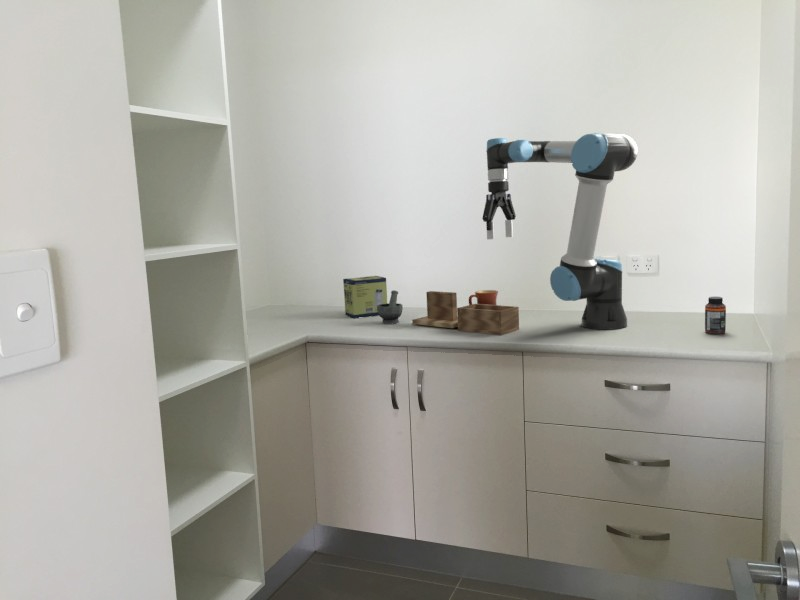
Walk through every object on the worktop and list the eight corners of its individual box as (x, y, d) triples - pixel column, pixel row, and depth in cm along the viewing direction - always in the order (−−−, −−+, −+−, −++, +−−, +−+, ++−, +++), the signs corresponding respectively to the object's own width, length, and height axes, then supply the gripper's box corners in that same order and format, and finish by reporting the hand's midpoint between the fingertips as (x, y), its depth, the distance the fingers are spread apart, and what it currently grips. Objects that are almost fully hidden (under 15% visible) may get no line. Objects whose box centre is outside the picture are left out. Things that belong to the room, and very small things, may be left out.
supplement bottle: (707, 330, 217) (708, 295, 215) (727, 331, 213) (728, 296, 212) (702, 333, 212) (702, 298, 211) (722, 335, 209) (723, 299, 207)
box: (519, 329, 233) (518, 306, 232) (501, 335, 225) (501, 311, 224) (476, 325, 245) (475, 303, 244) (458, 330, 237) (457, 308, 236)
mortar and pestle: (396, 325, 253) (394, 293, 251) (373, 324, 257) (372, 293, 255) (408, 320, 263) (406, 289, 261) (386, 319, 267) (385, 289, 265)
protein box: (344, 315, 282) (342, 278, 280) (378, 311, 289) (376, 275, 287) (353, 318, 273) (351, 280, 271) (388, 314, 279) (386, 277, 277)
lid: (473, 324, 248) (471, 291, 246) (453, 330, 239) (452, 295, 237) (432, 320, 260) (431, 289, 259) (412, 325, 251) (410, 293, 250)
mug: (491, 315, 265) (490, 289, 264) (503, 318, 257) (502, 291, 256) (464, 318, 261) (463, 292, 259) (475, 321, 253) (474, 294, 251)
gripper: (506, 181, 263) (508, 236, 266) (471, 181, 244) (473, 240, 247) (523, 180, 259) (525, 235, 261) (489, 180, 240) (491, 240, 242)
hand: (500, 238), depth 254 cm, fingers open, 13 cm apart
